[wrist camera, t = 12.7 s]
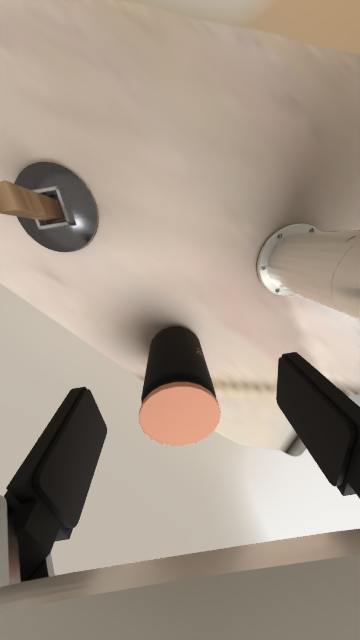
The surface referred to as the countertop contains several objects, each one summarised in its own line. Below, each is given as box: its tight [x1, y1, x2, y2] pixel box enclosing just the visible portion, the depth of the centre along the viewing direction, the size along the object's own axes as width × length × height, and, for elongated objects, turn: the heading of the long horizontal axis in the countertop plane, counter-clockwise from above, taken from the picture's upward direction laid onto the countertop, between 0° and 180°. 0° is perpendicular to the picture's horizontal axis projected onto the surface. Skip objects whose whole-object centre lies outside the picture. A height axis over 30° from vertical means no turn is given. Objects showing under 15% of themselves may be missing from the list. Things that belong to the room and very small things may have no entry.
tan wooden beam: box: [0, 181, 65, 221], centre depth 24 cm, size 2×2×10 cm
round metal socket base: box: [15, 162, 99, 252], centre depth 29 cm, size 12×12×3 cm
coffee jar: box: [139, 327, 221, 446], centre depth 33 cm, size 11×11×18 cm
